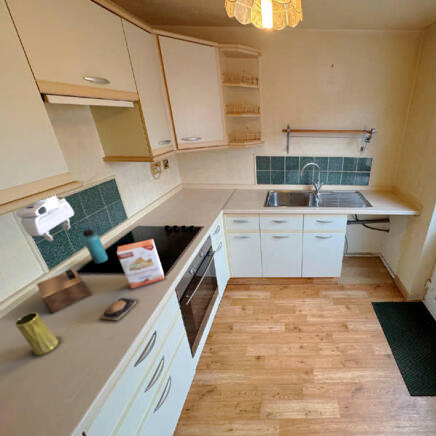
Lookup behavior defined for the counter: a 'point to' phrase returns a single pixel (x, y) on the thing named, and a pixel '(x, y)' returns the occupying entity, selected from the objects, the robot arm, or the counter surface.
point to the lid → (59, 282)
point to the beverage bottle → (95, 247)
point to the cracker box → (140, 263)
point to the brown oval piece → (118, 309)
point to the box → (67, 296)
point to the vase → (36, 333)
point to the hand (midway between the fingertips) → (59, 234)
